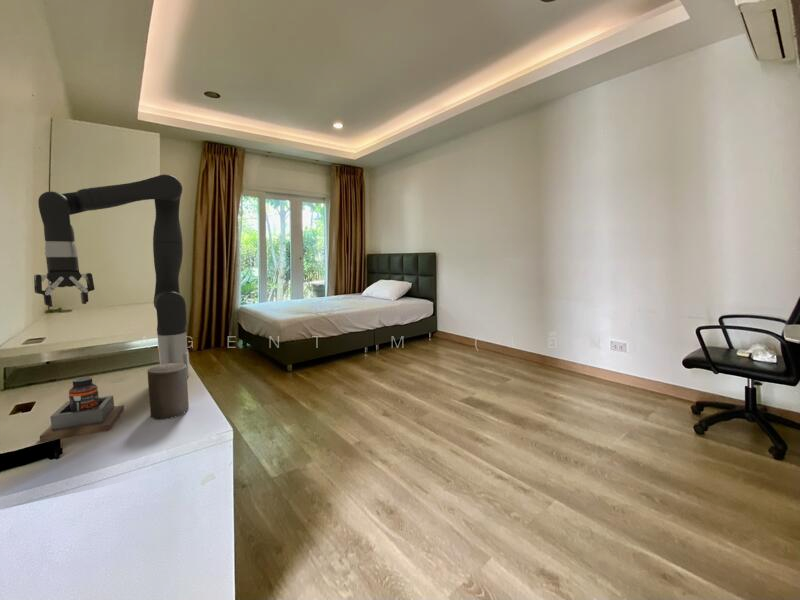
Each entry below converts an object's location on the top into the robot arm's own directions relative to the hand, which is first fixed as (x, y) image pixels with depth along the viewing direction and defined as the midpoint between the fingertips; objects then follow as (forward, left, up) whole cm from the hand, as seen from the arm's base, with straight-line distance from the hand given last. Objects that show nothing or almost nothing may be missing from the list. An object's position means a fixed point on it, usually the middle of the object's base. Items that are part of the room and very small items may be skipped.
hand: (67, 305), depth 118 cm
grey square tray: (-11, +31, -29) cm, 44 cm away
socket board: (-11, +31, -30) cm, 45 cm away
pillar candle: (-31, +32, -30) cm, 54 cm away
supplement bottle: (-11, +31, -29) cm, 44 cm away
